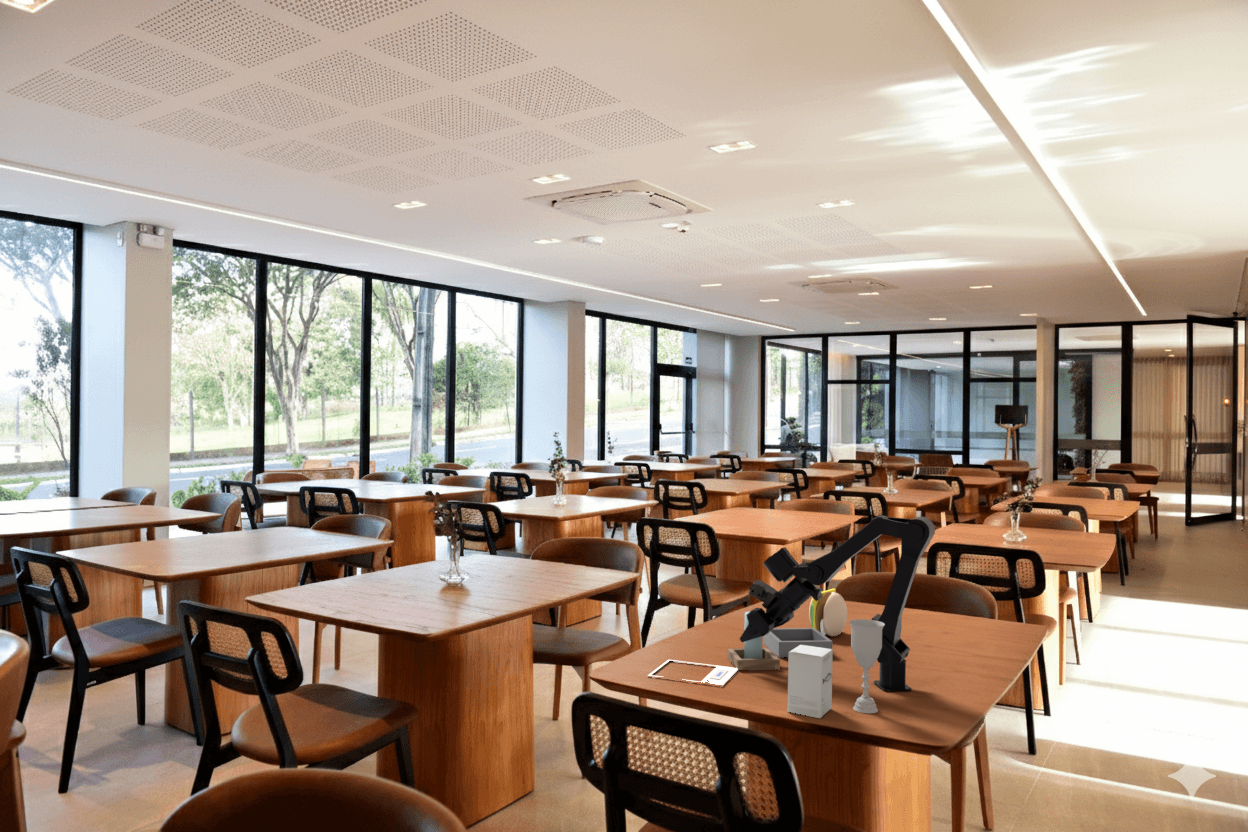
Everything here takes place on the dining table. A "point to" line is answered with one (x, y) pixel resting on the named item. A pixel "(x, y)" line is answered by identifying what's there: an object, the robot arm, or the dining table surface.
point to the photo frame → (714, 677)
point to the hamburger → (828, 613)
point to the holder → (753, 660)
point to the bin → (794, 640)
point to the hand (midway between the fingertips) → (748, 636)
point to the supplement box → (810, 681)
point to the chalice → (866, 656)
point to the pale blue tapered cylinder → (752, 645)
